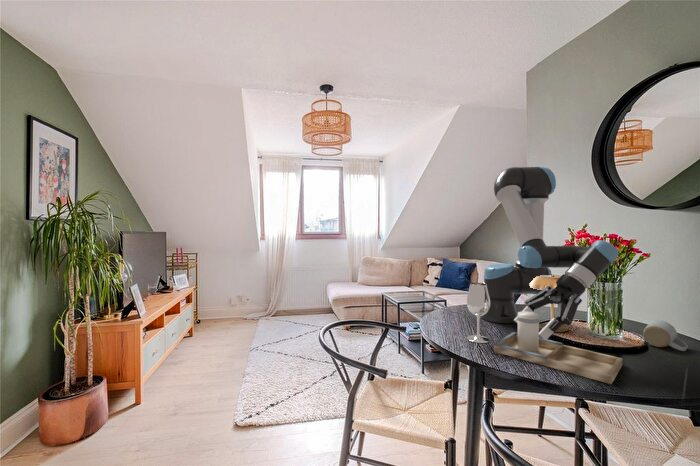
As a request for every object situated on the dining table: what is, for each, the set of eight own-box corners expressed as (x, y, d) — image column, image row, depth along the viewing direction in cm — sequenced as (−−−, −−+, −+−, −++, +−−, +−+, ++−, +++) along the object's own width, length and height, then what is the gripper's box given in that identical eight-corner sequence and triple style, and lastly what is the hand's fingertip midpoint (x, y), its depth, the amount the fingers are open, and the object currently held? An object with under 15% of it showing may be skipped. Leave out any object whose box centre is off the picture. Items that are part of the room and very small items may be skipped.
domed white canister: (514, 351, 107) (514, 314, 106) (521, 345, 111) (521, 310, 110) (535, 356, 102) (535, 317, 102) (541, 350, 106) (541, 313, 106)
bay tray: (493, 352, 106) (493, 343, 106) (513, 340, 117) (513, 331, 117) (611, 386, 84) (611, 374, 84) (622, 366, 95) (622, 356, 95)
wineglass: (491, 344, 113) (491, 286, 113) (466, 342, 116) (466, 285, 115) (489, 337, 121) (489, 282, 120) (466, 334, 123) (466, 281, 123)
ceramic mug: (641, 344, 112) (642, 322, 112) (646, 339, 117) (647, 317, 117) (685, 354, 104) (686, 330, 104) (689, 348, 109) (690, 325, 109)
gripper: (615, 298, 93) (563, 353, 93) (556, 282, 118) (515, 325, 118) (597, 280, 93) (545, 335, 93) (542, 267, 118) (501, 310, 118)
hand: (528, 329), depth 106 cm, fingers open, 13 cm apart
